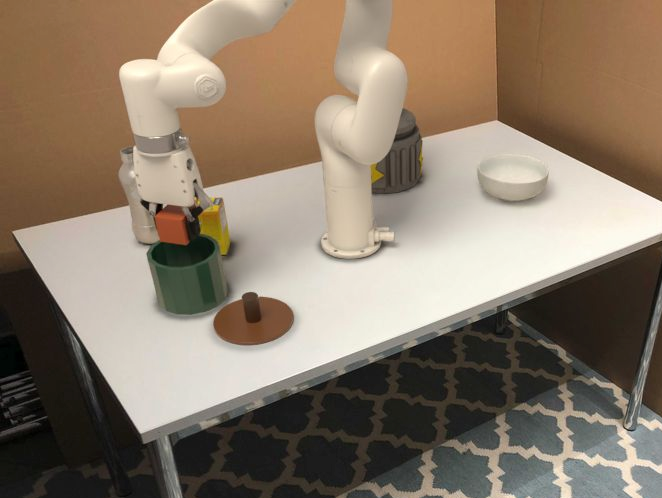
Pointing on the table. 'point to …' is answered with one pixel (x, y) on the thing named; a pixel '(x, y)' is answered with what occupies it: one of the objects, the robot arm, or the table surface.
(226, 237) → the supplement box
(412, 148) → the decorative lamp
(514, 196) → the cereal bowl
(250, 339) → the canister lid
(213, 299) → the canister
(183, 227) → the block
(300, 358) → the table surface
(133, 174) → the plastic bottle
